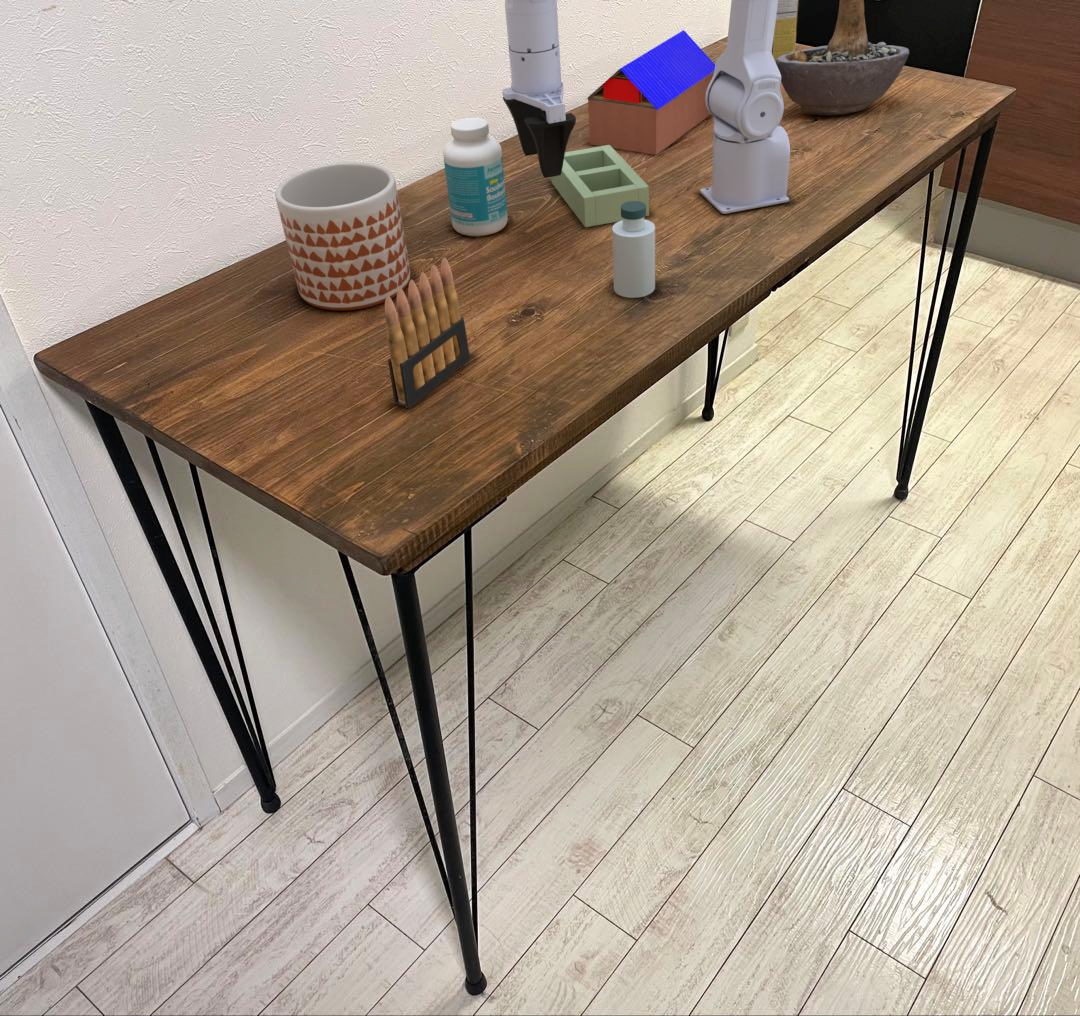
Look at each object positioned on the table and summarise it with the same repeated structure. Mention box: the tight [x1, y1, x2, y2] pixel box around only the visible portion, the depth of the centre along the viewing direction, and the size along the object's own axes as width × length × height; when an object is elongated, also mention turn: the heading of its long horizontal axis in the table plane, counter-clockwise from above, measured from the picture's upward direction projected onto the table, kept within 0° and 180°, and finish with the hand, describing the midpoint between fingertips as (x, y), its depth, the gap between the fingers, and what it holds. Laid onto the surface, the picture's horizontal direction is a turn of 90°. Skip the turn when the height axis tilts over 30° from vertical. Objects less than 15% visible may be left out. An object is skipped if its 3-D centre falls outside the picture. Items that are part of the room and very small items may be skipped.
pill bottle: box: [442, 117, 509, 237], centre depth 130 cm, size 8×7×14 cm
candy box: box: [772, 0, 800, 62], centre depth 173 cm, size 9×4×15 cm, turn 5°
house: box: [585, 29, 715, 156], centre depth 154 cm, size 12×20×12 cm, turn 147°
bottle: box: [611, 201, 656, 299], centre depth 116 cm, size 5×5×10 cm
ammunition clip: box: [384, 256, 471, 409], centre depth 102 cm, size 11×2×12 cm, turn 147°
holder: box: [550, 145, 650, 228], centre depth 138 cm, size 9×16×4 cm, turn 15°
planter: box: [776, 0, 910, 116], centre depth 152 cm, size 15×17×20 cm
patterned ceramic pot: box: [274, 161, 412, 312], centre depth 120 cm, size 14×14×13 cm
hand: (542, 164), depth 123 cm, fingers open, 7 cm apart
